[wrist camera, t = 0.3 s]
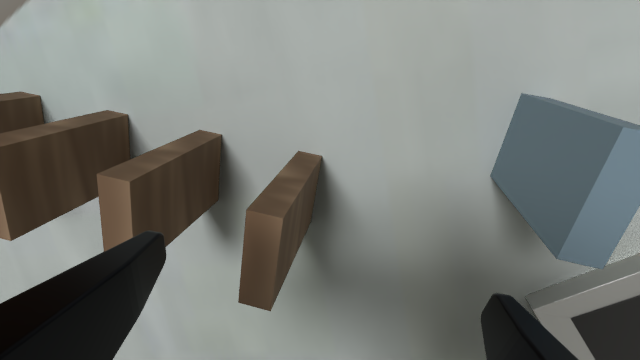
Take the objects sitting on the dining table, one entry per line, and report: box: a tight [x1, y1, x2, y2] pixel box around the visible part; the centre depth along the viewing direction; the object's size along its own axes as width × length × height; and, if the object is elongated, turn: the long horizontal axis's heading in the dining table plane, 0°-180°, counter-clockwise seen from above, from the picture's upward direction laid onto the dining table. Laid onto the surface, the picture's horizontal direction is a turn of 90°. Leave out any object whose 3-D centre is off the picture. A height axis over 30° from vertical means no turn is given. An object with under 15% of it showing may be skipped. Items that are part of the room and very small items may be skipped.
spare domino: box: [491, 94, 640, 269], centre depth 16 cm, size 2×5×9 cm, turn 170°
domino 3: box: [97, 130, 222, 252], centre depth 20 cm, size 2×5×9 cm, turn 170°
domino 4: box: [0, 110, 130, 241], centre depth 21 cm, size 2×5×9 cm, turn 170°
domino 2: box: [238, 151, 322, 311], centre depth 19 cm, size 2×5×9 cm, turn 170°
